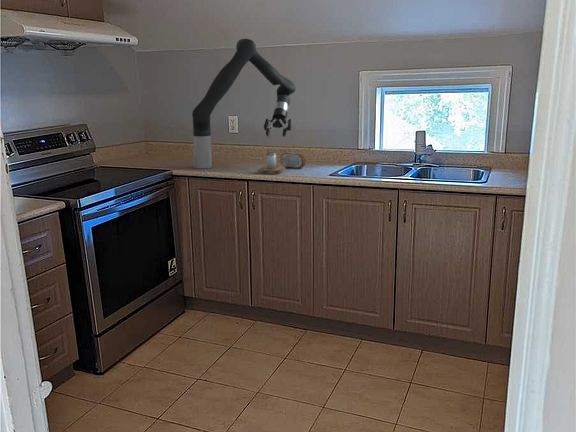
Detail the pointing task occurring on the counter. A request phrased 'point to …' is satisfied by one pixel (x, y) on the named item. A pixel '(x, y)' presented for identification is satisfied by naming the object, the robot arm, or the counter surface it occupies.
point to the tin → (292, 160)
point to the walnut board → (271, 170)
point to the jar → (271, 160)
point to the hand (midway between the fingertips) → (275, 135)
